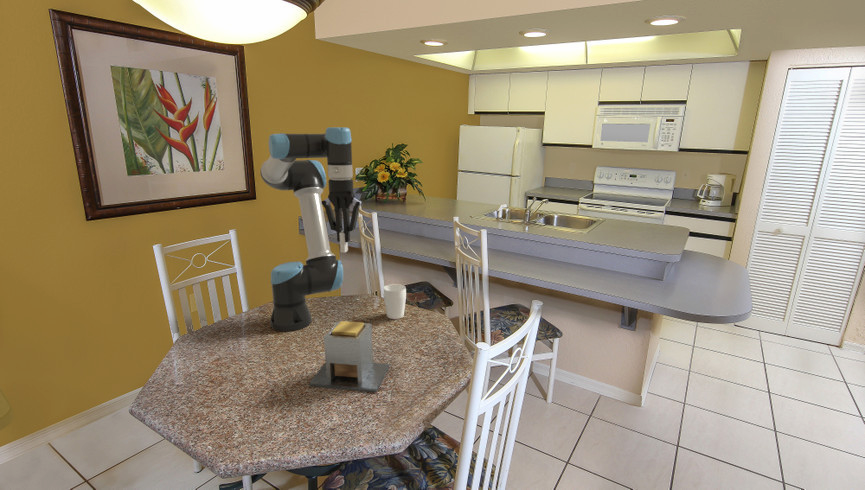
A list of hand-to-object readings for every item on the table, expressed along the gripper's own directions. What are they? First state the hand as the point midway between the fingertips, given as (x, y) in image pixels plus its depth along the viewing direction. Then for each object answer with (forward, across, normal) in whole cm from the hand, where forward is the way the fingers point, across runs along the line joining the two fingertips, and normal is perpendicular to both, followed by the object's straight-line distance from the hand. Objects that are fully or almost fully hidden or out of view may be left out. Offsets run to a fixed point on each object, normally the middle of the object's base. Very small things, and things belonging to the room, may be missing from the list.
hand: (344, 251), depth 139 cm
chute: (+33, +8, -19) cm, 39 cm away
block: (+31, +8, -19) cm, 37 cm away
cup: (+34, +10, +27) cm, 44 cm away
